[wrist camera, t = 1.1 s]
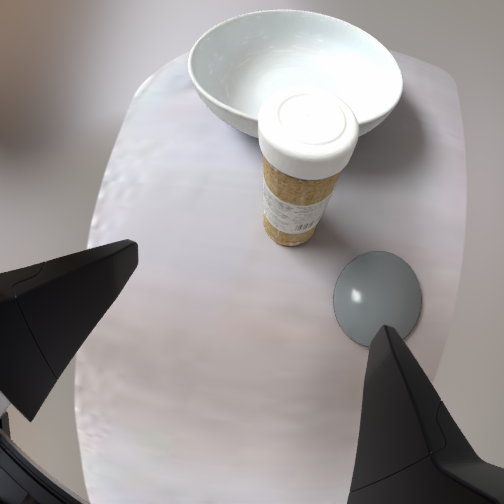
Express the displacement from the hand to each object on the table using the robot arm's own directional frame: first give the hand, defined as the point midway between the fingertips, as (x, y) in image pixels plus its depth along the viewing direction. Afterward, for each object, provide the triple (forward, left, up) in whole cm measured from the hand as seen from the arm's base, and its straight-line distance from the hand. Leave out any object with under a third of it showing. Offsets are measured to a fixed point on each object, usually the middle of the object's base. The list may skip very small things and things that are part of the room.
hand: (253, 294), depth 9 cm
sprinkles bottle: (+7, +2, -14) cm, 16 cm away
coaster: (+6, -8, -13) cm, 17 cm away
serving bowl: (+20, +10, -14) cm, 27 cm away
